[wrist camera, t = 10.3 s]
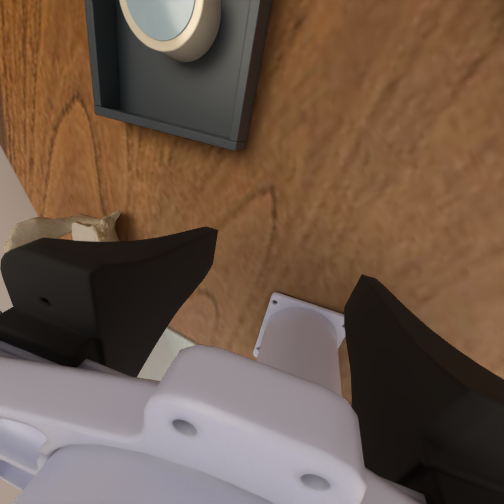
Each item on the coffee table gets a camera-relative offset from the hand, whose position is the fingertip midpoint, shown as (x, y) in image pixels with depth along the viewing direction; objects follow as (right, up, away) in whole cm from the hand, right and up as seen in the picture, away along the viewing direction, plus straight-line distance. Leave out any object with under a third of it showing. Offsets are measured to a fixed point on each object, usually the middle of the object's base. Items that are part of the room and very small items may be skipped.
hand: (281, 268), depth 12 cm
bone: (-16, +3, +14) cm, 22 cm away
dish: (-6, +16, +4) cm, 18 cm away
